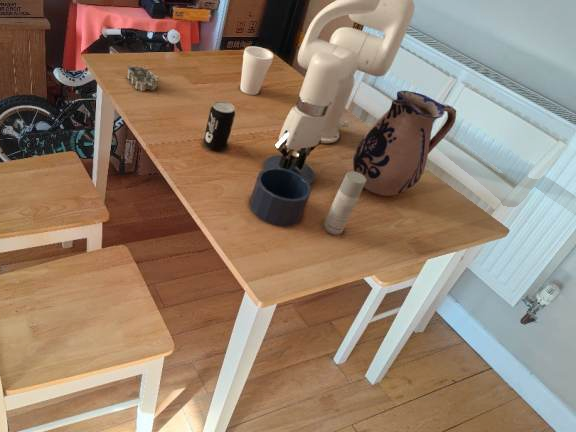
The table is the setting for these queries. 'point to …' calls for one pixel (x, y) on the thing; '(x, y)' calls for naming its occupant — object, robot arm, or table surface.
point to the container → (344, 202)
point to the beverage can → (219, 125)
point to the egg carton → (142, 78)
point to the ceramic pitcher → (400, 143)
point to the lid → (291, 166)
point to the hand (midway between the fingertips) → (290, 167)
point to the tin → (279, 196)
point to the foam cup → (254, 69)
